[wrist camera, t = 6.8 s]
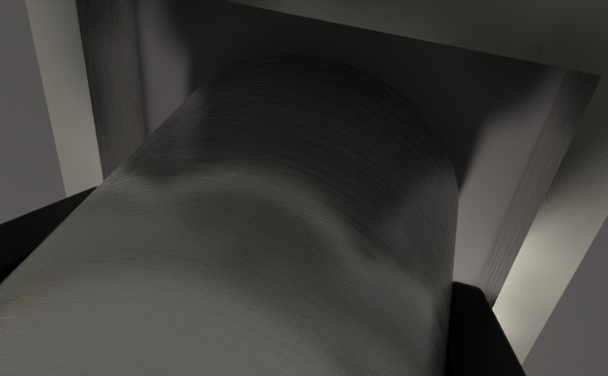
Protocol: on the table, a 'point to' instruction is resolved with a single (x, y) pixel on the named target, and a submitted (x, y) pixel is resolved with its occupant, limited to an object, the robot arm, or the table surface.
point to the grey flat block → (386, 67)
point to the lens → (253, 240)
